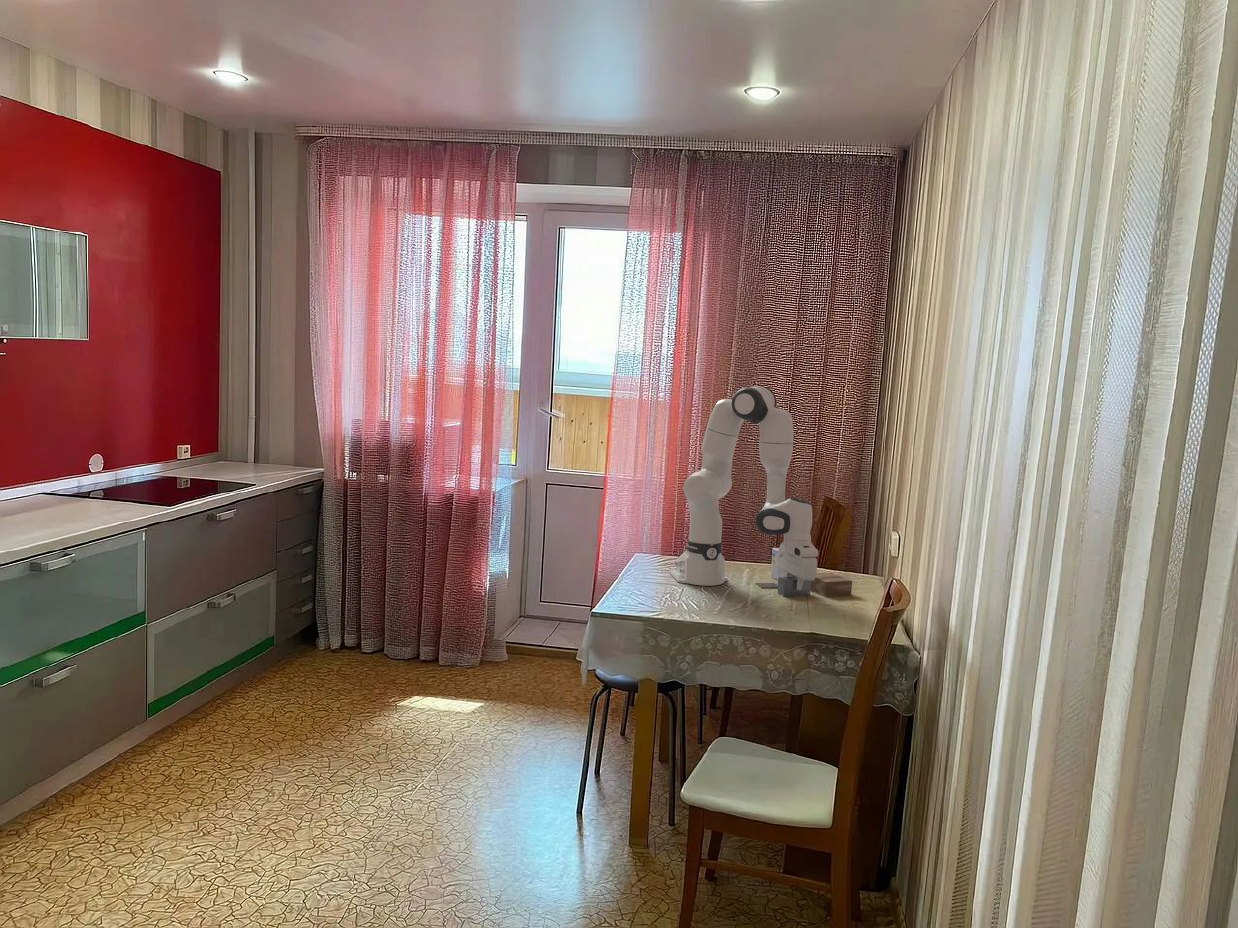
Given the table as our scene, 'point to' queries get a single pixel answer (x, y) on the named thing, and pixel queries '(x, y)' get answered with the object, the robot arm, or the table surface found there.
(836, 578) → the wooden stand
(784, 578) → the metal housing
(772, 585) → the loose cover plate
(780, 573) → the light bulb box
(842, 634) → the table surface
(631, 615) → the table surface
